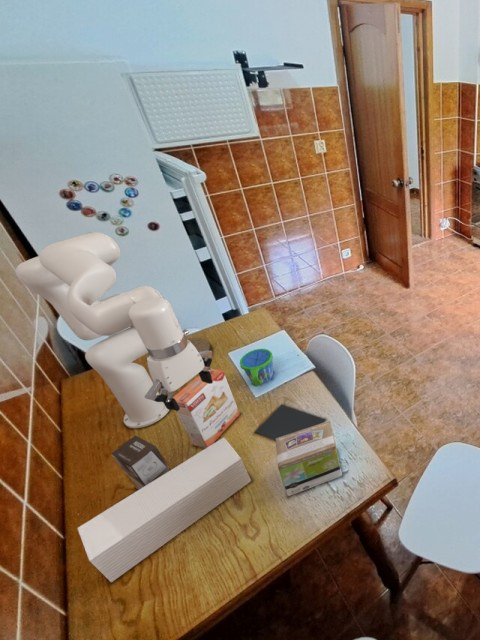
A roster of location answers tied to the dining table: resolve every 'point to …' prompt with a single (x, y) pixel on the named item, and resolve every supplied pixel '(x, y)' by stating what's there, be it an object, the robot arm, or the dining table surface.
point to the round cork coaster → (200, 344)
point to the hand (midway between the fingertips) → (191, 394)
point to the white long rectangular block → (162, 509)
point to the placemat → (287, 422)
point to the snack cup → (258, 366)
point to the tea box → (307, 458)
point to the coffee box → (140, 461)
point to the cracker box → (206, 408)
